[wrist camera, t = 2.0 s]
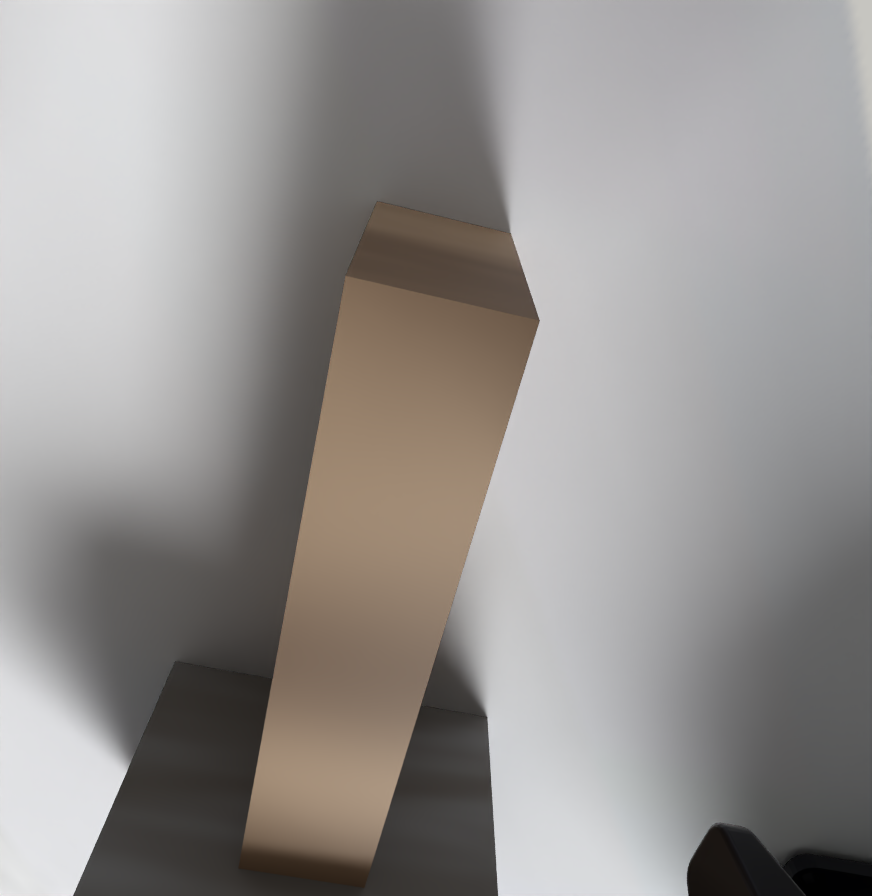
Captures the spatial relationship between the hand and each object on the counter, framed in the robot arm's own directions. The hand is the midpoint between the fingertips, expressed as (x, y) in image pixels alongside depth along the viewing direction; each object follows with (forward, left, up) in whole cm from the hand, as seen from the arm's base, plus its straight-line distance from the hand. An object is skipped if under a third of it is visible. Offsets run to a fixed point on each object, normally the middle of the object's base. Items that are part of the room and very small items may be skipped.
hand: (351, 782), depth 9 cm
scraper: (0, +1, -8) cm, 8 cm away
